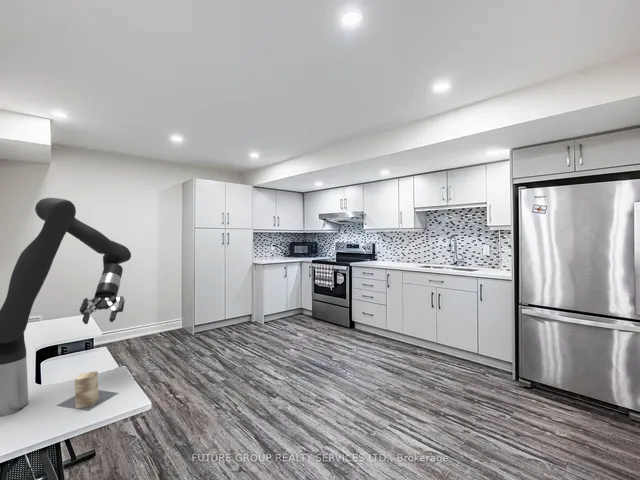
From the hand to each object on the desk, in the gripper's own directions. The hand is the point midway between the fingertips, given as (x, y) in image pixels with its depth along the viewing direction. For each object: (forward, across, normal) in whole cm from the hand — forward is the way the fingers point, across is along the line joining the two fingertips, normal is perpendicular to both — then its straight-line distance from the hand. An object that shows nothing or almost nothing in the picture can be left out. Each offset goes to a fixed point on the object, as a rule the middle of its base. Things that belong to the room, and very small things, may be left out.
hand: (98, 322), depth 122 cm
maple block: (+26, 0, +10) cm, 28 cm away
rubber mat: (+24, -1, +12) cm, 27 cm away
